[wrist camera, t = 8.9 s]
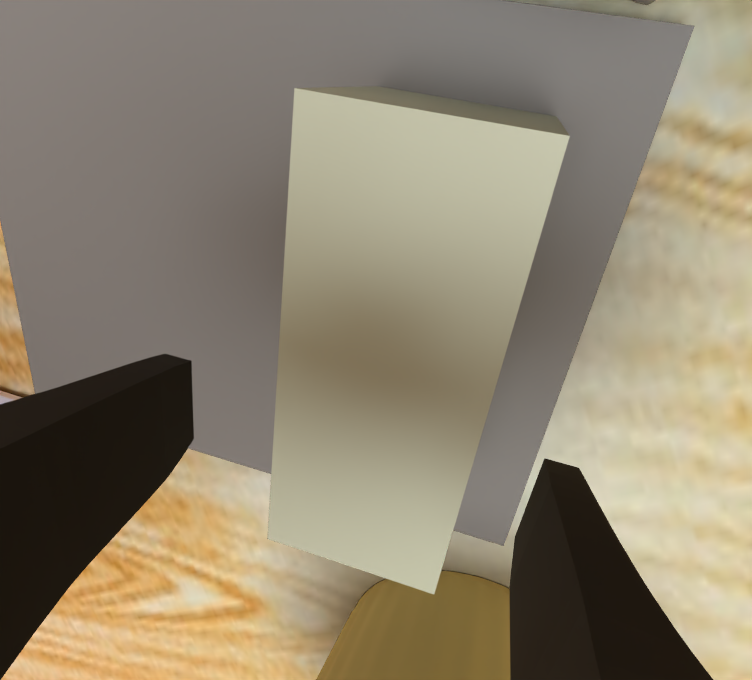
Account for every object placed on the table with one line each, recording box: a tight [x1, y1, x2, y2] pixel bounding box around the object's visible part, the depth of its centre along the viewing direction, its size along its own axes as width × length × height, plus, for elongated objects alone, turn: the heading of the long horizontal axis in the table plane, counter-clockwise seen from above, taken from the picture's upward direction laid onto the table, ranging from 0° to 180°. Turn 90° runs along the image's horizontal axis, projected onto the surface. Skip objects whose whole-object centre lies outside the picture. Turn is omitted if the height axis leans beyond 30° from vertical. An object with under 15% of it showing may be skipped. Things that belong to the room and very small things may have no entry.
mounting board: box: [0, 0, 694, 546], centre depth 19 cm, size 22×18×1 cm
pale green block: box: [267, 86, 570, 594], centre depth 15 cm, size 5×12×6 cm, turn 173°
